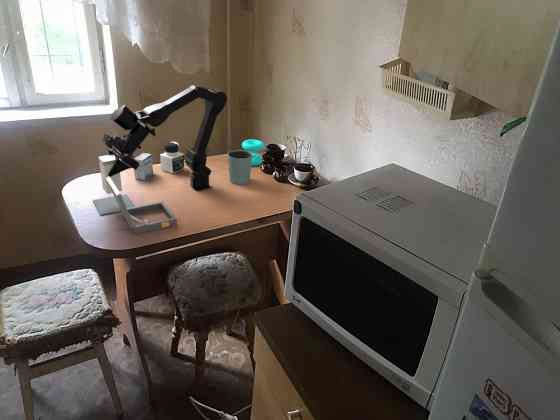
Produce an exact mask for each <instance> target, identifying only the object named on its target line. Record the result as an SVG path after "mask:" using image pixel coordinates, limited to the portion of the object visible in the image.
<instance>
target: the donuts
mask: <svg viewBox="0 0 560 420" xmlns="http://www.w3.org/2000/svg"><path fill="white" fill-rule="evenodd" d="M241 147H242V148H243V150H245V151H249V152H251V153H252V155H253V156H252V164H251V167H255V166H260V165H262V164H263V163H262V158H263V156H262V155H260V154H259V153H257V152H260V151H263V149H264V148H265V144H264V142H263V141H262V140H258V139H246V140H244V141H243V142H242V143H241ZM261 163H262V164H261Z"/></svg>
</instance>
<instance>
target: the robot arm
mask: <svg viewBox="0 0 560 420" xmlns="http://www.w3.org/2000/svg"><path fill="white" fill-rule="evenodd" d="M197 99H202V100H204V114H203V117H202V121H201V124H200V126H199V129H198V133H197V136H196V139H195V143H194V145H193V146H192V148H191V149H189V148H187V149H186V153H185V155H184V164H185V165H186V166H187V168H189V169H190V171H191V176H189V177H190V178H189V180H190V183H189V186H190V187H192V189H193V190H195V191H196V192H197V191H202V190H209V189H211V188H212V187H211V186H210V176H211V174H212V169H211V168H209V167H208V166H206V165H207V160H208V159H207V149H208V146H209V142H210V139H211V137H212V134H213V131H214V127H215V124H216V121H217V118H218V116H219V115H220V113H221V112H222V111H223V110H224V109H225V107H226V104H227V103H228V97H227V94H226V93H225V92H224V91H222V90H220V89H218V88H215V87H211V88H208V87H207V88H206V87H203V86H200V85H199V84H191V85H190V86H189V87H188V88H186V89H184V90H182V91H181V92H179V93H178V94H175V95H174V96H172V97H170V98H169V99H167V100H165V101H164V102H159V103H154V104H151V105H149V106H147V107H145V108H143V110H139V111H138V110H137V111H134V112H133V111H132V110H131V109H130V108H129V107H128V106H127V105H125V104H123V105H121V106H120V107H118V108H117V109H115V110H114V111H113V112H112V114H111V116H110V121H111V122H113V123H114V124H115V125H117V126H118V127H119V128H121V129H123V130H124V131H128V132H127V133H126V134H125V133H123V134H122V135H117V134H113V133H110V132H107V131H106V132H104V135H103V138H102V142H103V143H104V145H105V146H106V151H107V155H115V161H116V162H115V164H114V165H113V167H112V168H111V170H110V172H109V173H108V176H109V177H112V176H114V175H116V174H118V173H120V174H121V173H122V172H124V171H127V170H130V169H133V170H134V169H135V170H137V168H138V167H139V162H138V161H137V160H136V159H135V158H134V157H135V156H134V154H135V152H136V151H137V150H138V149H139V150H141V149H142V146H141V145H142V144H143V142H144V141H145V140H146V139H147V137H148V136H149V135H152V136H153V137H154V138H155V137H156V128H157V127H159V126H161V125H163V124H164V123H165V122H166V121H167V120H168V119H169V117H170V116H171V115H172V114H173V113H175V112H176V111H178V110H180V109H181V108H184V107H185V106H186V105H188V104H190V103H192V102H194V101H195V100H197ZM139 121H140V122H141V123H140V122H139ZM150 126H151V127H150ZM154 127H155V128H154Z"/></svg>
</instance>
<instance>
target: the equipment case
mask: <svg viewBox="0 0 560 420" xmlns="http://www.w3.org/2000/svg"><path fill="white" fill-rule="evenodd" d="M106 179H107V182H108V184H109V186H110V188H111V190H112V192H113V193H112V195H113V196H114V197H115V199H116V201H117V203H118V205H119V208H120V210H121V211H122V212H121V213H122V215H123V217H124V218H125V220H126V222H127V224H128V225H129V227H130V229H131V230H132V232H133V234H134V235H138V234H143V233H148V232H154V231H156V230H160V229H161V230H162V229H166V228H170V227H174V226H177V225H178V223H177V221H178V220H177V219H178V218H177V217H175V215H174V214H173V212H172V211H171V210H170V208H168V206H167V205H166V203H165V202H164V201H158V202H153V203H152V202H151V203H148V204H142V205H137V206H135V207H131V208H127V207H126V205H125V203H124V201H123V198H122V196H121V195H122V194H121V193H120V192H121V191H120V192H119V191H118V189H117V188H116V186H115V184H114V183H113V181H112V180H111V178H110V177H107V178H106ZM160 210H161V211H162V212H163V214H165V216H166V217H167V219H166V218H165V219H161V220H158V221H157V220H156V221H153V222H149V219H143V220H141V219H140V218H137V217H135V215H139V214H145V213H148V212H149V213H150V212H155V211H160ZM135 221H136V222H138V223H141V224H139V225H138V224H136V222H135Z"/></svg>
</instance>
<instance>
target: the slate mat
mask: <svg viewBox="0 0 560 420" xmlns="http://www.w3.org/2000/svg"><path fill="white" fill-rule="evenodd" d="M121 196H122V198H123V201H124V203H125V205H126V207H127V208H131V207H136V206H135V204H134V203H133V201H132V200H131V198H130V196H129V195H128V194H127V193H125V194H121ZM92 202H93V204H94V206H95V207H96V209H97V212H98V214H99V216H101V217H102V216H105V215H112V214H116V213H117V214H118V213H122V211H121V210H120V208H119V205H118V203H117V201H116V199H115V197H114V195H113V196H107V197H102V198H96V199H93V200H92Z"/></svg>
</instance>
